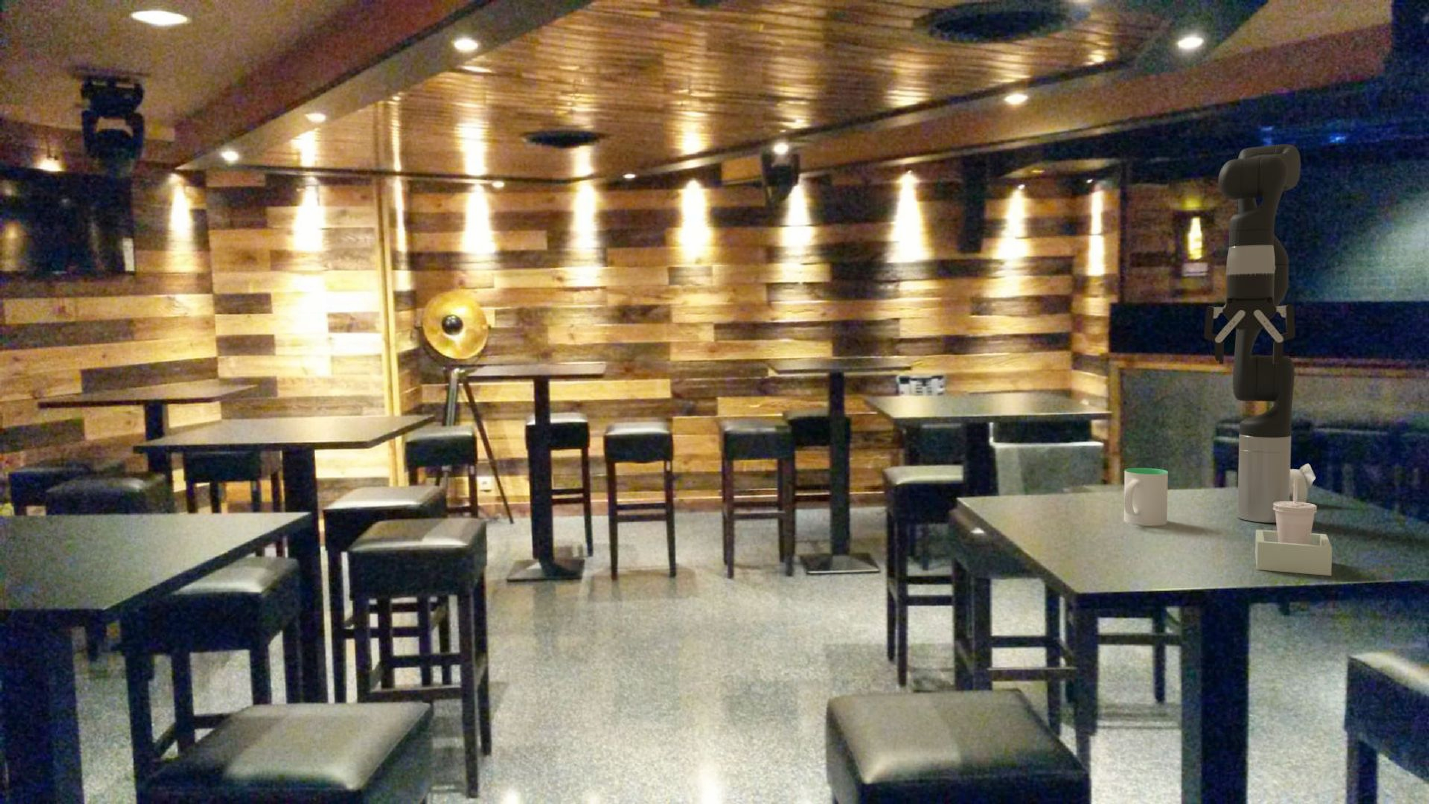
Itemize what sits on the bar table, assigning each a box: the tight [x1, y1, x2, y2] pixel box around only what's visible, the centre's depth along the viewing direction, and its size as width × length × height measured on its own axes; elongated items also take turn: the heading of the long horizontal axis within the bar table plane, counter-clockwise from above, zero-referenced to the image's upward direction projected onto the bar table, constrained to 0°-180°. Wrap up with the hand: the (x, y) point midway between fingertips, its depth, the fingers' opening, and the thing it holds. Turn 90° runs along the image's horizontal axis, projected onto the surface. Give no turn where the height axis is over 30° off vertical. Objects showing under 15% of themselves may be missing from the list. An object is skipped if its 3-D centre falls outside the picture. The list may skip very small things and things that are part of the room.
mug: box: [1123, 467, 1169, 527], centre depth 204 cm, size 12×8×10 cm, turn 136°
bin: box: [1254, 529, 1333, 577], centre depth 169 cm, size 10×10×5 cm
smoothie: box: [1273, 478, 1318, 545], centre depth 168 cm, size 6×6×14 cm
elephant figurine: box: [1289, 463, 1316, 503], centre depth 222 cm, size 10×12×9 cm
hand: (1247, 363), depth 180 cm, fingers open, 8 cm apart
